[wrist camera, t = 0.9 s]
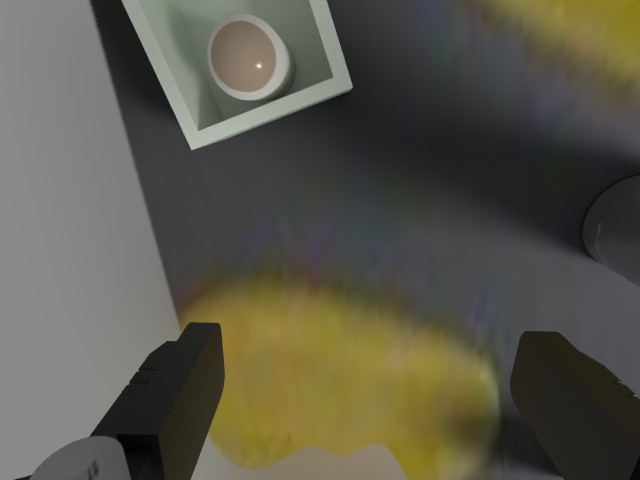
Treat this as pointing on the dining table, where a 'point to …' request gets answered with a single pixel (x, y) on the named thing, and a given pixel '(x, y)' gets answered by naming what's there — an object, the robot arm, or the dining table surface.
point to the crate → (195, 76)
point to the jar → (250, 59)
